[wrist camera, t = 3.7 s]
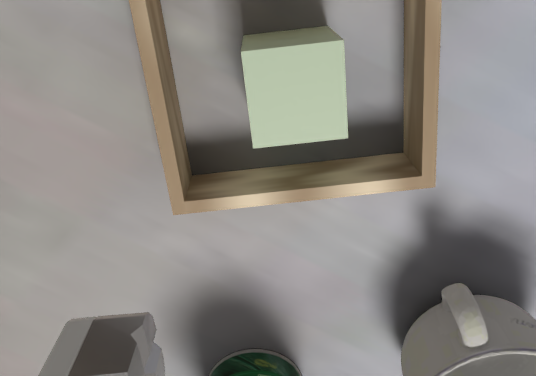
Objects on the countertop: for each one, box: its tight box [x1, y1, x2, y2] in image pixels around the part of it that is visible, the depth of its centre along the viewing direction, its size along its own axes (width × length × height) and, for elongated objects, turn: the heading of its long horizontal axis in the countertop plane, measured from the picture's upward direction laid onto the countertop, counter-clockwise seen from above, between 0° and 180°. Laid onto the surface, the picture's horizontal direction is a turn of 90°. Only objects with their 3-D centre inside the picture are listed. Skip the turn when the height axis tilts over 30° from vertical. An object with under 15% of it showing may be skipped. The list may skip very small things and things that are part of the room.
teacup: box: [401, 283, 536, 376], centre depth 35 cm, size 14×11×8 cm
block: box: [241, 26, 348, 149], centre depth 28 cm, size 5×5×6 cm
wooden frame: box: [129, 0, 441, 215], centre depth 29 cm, size 16×14×4 cm
